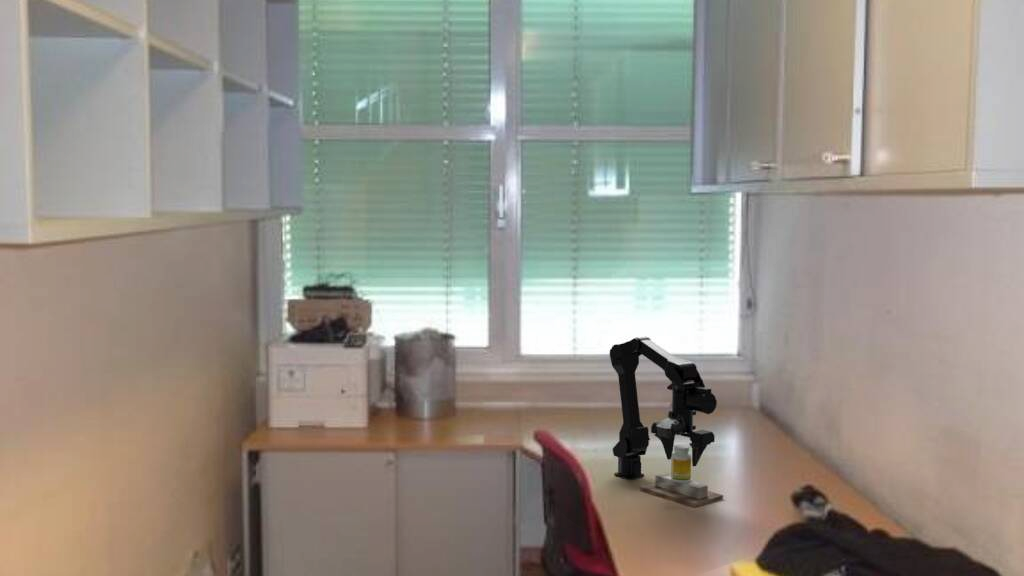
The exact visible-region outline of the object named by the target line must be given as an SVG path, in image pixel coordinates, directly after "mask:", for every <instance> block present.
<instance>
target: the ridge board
mask: <svg viewBox="0 0 1024 576" xmlns="http://www.w3.org/2000/svg"><path fill="white" fill-rule="evenodd" d="M654 480H655V482H651V483H648V484H644V485H640V486H639V490H640V491H642V492H644V493H648V494H652V495H654V496H657V497H660V498H663V499H668V500H671V501H673V502H677V503H680V504H683V505H686V506H688V507H693V508H696V507H699V506H700V507H701V506H703V505H706V504H710V503H713V502H717V501H720V500H723V499H724V495H723V494H721V493H717V492H714V491H710V490H708V489H709V486H708V485H707V484H703V483H700V482H697V481H694V480H693V481H692V480H690V481H689V482H685V483H680V482H675V481H673V480H672V479H671V474H669V473H666V472H663V473H659V474H655V479H654Z"/></svg>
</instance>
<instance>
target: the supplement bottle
mask: <svg viewBox="0 0 1024 576" xmlns="http://www.w3.org/2000/svg"><path fill="white" fill-rule="evenodd" d="M673 451H674V452H672V457H671V465H670V466H671V468H670V469H671V471H670V473H671V474H670V475H671V479H672V480H673V481H675V482H680V483H685V482H689V481H692V480H691V477H692V476H691V473H692V472H691V470H692V469H691V468H692V454H690V453H689V452H690V446H688V445H685V444H677V445H674V446H673Z"/></svg>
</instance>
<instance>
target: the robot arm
mask: <svg viewBox="0 0 1024 576" xmlns="http://www.w3.org/2000/svg"><path fill="white" fill-rule="evenodd" d="M640 356H643V357H645V358H646V359H647V360H649V361H650V362H652V363H653V364H655V365H656V366H658V368H660V369H662V371H664V375H665V377H666V378H667V379H668V380H669V381H670V382H671V383H670V384H669V385H668V386H667V387H666V389H667V390H670V391H671V392H672V397H671V399H672V401H671V405H672V406H671V407H672V408H671V410H669V411H668V415H667V418H664V419H662V420H660V421H656V422H653V423H652V425H651V426H650V433H651V434H654V436H655V437H656V438H657V439H658V440H660V442H661V444H662V447H663V450H664V452H665V456H666V459H667V460H668V461H670V460H672V454H673V453H674V452H673V451H674V446H675V440H676V439H675V438H676V436H682V437H686V438H689V440H690V442H691V443H689V447H690V448H691V466H692V467H697V465H698V463H699V462H700V459H701V457H702V455H703V453H704V451H705V450H706V448H707V447H708V445H711V443H714V442H715V436H716V435H715V434H714V432H713V431H712V430H706V429H699V430H696V429H697V428H696V427H697V425H694V423H693V422H694V416H696V415H697V413H702V414H706V415H711V414H712V413H714V412H715V410H716V408H717V404H718V402H717V401H718V400H717V398H716V395H714V394H713V393H712V388H709V387H706V385H705V383H704V380H703V379H702V377H701V375H700V373H699V370H698V368H697V365H696V364H695V363H694V362H693V361H690V360H687V359H685V358H679V357H676V356H675V355H673V354H671V353H670V352H668V351H667V350H666V349H664V348H662V347H661V346H660V345H658V344H657V343H656V342H654V341H653V340H652V339H651V337H649V336H639V337H634V338H632V339H631V340H629V341H625V342H623V343H618V344H617V343H616V344H614V345H612V346H611V348H610V349H609V359H610V363H611V366H612V368H613V369H614V370H615V372H616V374H617V376H618V385H619V387H618V388H619V393H620V403H621V412H622V421H623V422H622V425H621V428H620V430H619V433H618V435H619V439H618V442H616V444H614V446H613V448H612V454H613V457H616V458H618V459H617V461H618V462H617V463H618V465H617V472H614V476H617V477H620V478H623V479H627V480H633V479H636V478H640V477H644V476H645V474H644V473H642V462H641V459H642V458H641V456H645V455H646V453H647V450H648V447H649V444H650V441H651V438H650V436H649V427H648V426H644V425H643V422H642V421H641V416H640V415H641V414H640V407H639V398H638V389H637V379H636V370H637V369H638V366H639V364H640Z"/></svg>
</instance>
